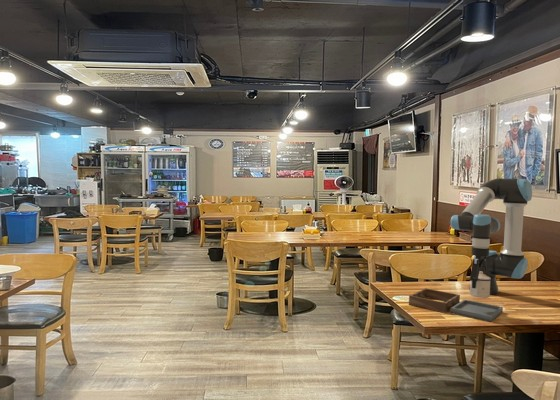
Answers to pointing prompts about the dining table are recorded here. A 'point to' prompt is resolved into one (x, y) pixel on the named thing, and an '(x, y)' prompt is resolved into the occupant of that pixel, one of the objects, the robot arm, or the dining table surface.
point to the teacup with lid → (482, 286)
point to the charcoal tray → (477, 310)
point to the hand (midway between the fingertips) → (477, 292)
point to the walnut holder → (420, 300)
